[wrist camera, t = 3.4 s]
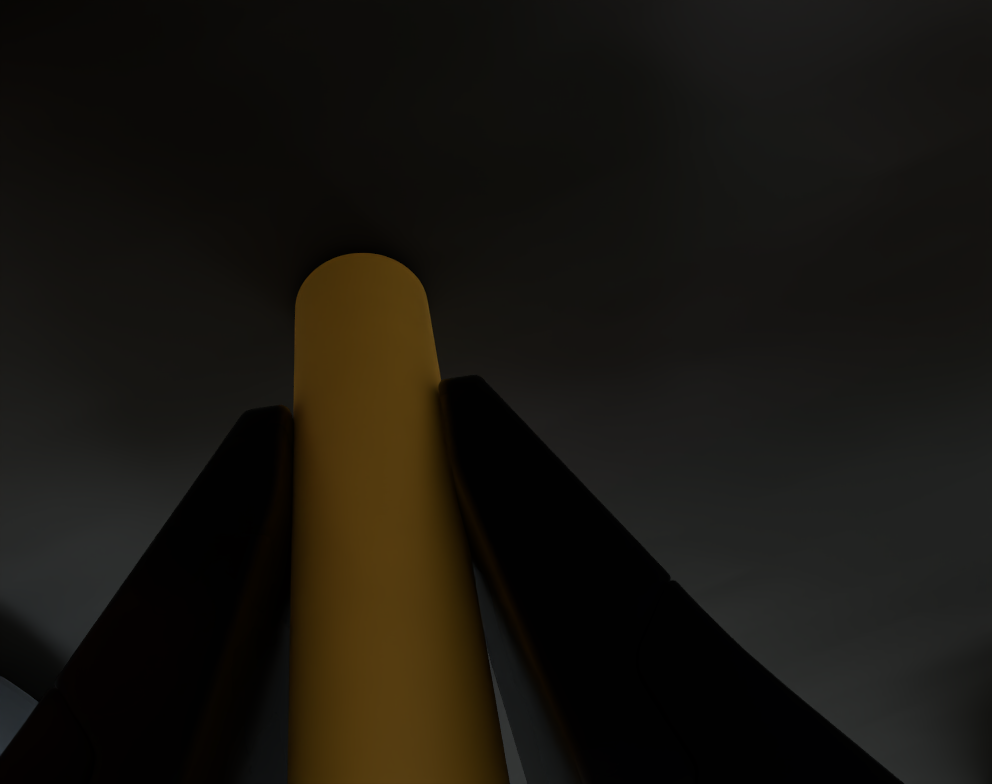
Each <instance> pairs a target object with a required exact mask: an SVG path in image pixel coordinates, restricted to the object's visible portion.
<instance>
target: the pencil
mask: <svg viewBox="0 0 992 784" xmlns="http://www.w3.org/2000/svg"><path fill="white" fill-rule="evenodd" d="M440 381H441V377H440V371H439V365H438V359H437V353H436V347H435V342H434V336H433V330H432V324H431V318H430V312H429V306H428V300H427V296H426V292H425V290H424V288H423V286H422V284H421V282H420V281H419V279H418V278H417V277H416V276H415V274H414V273H413V272H411V271H410V270H409V269H408V268H407V267H405V266H404V265H403V264H401V263H399V262H398V261H396V260H394V259H391V258H389V257H386V256H382V255H379V254H372V253H352V254H346V255H342V256H339V257H336V258H333V259H331V260H329V261H327V262H325V263H323V264H322V265H320V266H319V267H318V268H316V269H315V270H314V271H313V272H312V273H311V274H310V275H309V276H308V277H307V278H306V280H305V281H304V282H303V284H302V286H301V288H300V290H299V292H298V295H297V298H296V304H295V353H294V414H293V421H294V439H293V500H292V538H291V596H290V656H289V717H288V778H287V784H510V782H509V776H508V770H507V764H506V759H505V753H504V747H503V741H502V735H501V729H500V723H499V717H498V712H497V706H496V700H495V694H494V688H493V682H492V676H491V670H490V665H489V659H488V653H487V647H486V641H485V635H484V629H483V623H482V618H481V612H480V606H479V600H478V594H477V588H476V582H475V576H474V571H473V565H472V559H471V553H470V548H469V544H468V540H467V536H466V533H465V529H464V525H463V521H462V518H461V514H460V510H459V507H458V503H457V498H456V493H455V488H454V482H453V476H452V470H451V464H450V458H449V452H448V446H447V440H446V434H445V427H444V421H443V415H442V409H441V403H440V397H439V390H438V385H439V383H440Z"/></svg>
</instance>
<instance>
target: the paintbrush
mask: <svg viewBox="0 0 992 784" xmlns="http://www.w3.org/2000/svg"><path fill="white" fill-rule="evenodd" d="M38 703H39V702H38V701H36V700H35V699H34V698H33V697H31V696H30V695H29V694H27V693H26V692H24V691H23V690H21V689H20V688H19V687H17V686H16V685H14V684H13V683H11V682H10V681H8V680H7V679H5V678H3V677H2V676H0V755H1V754H2V752H3V751H4V750H5V748H6V747H7V746H8V744H9V743H10V742H11V740H12V739H13V738H14V736H15V735H16V734H17V732H18V731H19V729H20V728H21V727H22V725H23V724H24V723H25V721H26V720H27V718H28V717H29V716H30V714H31V713H32V711H33V710H34V708H35V707H36V706H37V704H38Z"/></svg>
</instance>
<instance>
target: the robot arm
mask: <svg viewBox="0 0 992 784" xmlns="http://www.w3.org/2000/svg"><path fill="white" fill-rule="evenodd" d="M438 390H439V397H440V403H441V409H442V415H443V421H444V427H445V434H446V440H447V446H448V452H449V458H450V464H451V470H452V476H453V482H454V488H455V493H456V498H457V503H458V507H459V510H460V514H461V518H462V521H463V525H464V529H465V533H466V536H467V540H468V544H469V548H470V553H471V559H472V565H473V571H474V576H475V582H476V588H477V594H478V600H479V606H480V612H481V618H482V623H483V629H484V635H485V641H486V647H487V650H488V654H489V657H490V660H491V664H492V667H493V670H494V674H495V677H496V680H497V684H498V687H499V690H500V694H501V697H502V700H503V704H504V707H505V710H506V714H507V717H508V720H509V724H510V727H511V730H512V734H513V737H514V740H515V744H516V747H517V750H518V754H519V757H520V760H521V764H522V767H523V770H524V774H525V777H526V780H527V784H904V783H903V782H902V781H900V780H899V779H898V778H897V777H896V776H894V775H893V774H892V773H891V772H889V771H888V770H887V769H886V768H885V767H883V766H882V765H881V764H880V763H879V762H877V761H876V760H875V759H874V758H873V757H871V756H870V755H869V754H868V753H866V752H865V751H864V750H863V749H862V748H860V747H859V746H858V745H857V744H856V743H854V742H853V741H852V740H851V739H850V738H848V737H847V736H846V735H845V734H843V733H842V732H841V731H840V730H839V729H837V728H836V727H835V726H834V725H833V724H831V723H830V722H829V721H828V720H827V719H825V718H824V717H823V716H822V715H820V714H819V713H818V712H817V711H816V710H814V709H813V708H812V707H811V706H810V705H808V704H807V703H806V702H805V701H804V700H802V699H801V698H800V697H799V696H798V695H796V694H795V693H794V692H793V691H791V690H790V689H789V688H788V687H787V686H786V685H784V684H783V683H782V682H781V681H780V680H779V679H778V678H776V677H775V676H774V675H773V674H772V673H771V672H769V671H768V670H767V669H766V668H765V667H764V666H763V665H761V664H760V663H759V662H758V661H757V660H756V659H754V658H753V657H752V656H751V655H750V654H749V653H748V652H746V651H745V650H744V649H743V648H742V647H741V646H740V645H739V644H738V643H737V642H736V641H735V640H734V639H733V638H732V637H731V636H730V635H729V634H728V633H727V632H725V631H724V630H723V629H722V628H721V627H720V626H719V625H718V624H717V623H716V622H715V621H714V620H713V619H712V618H711V617H710V616H709V615H708V614H707V613H706V612H705V611H704V610H703V609H702V608H701V607H700V606H699V605H698V604H697V603H696V602H695V601H694V599H693V598H692V597H691V596H690V595H689V594H688V593H687V592H686V591H685V590H684V589H683V588H682V587H681V586H680V585H679V584H678V583H677V582H676V581H674V580H672V581H670V579H671V578H670V575H669V574H668V573H667V572H666V570H665V569H664V568H663V567H662V566H661V565H660V564H659V563H658V562H657V561H656V560H655V559H654V558H653V557H652V556H651V555H650V554H649V553H648V552H647V550H646V549H645V548H644V547H643V546H642V545H641V544H640V543H639V542H638V541H637V540H636V539H635V538H634V537H633V536H632V535H631V534H630V533H629V532H628V531H627V529H626V528H625V527H624V526H623V525H622V524H621V523H620V522H619V521H618V520H617V519H616V518H615V517H614V516H613V515H612V514H611V513H610V512H609V511H608V510H607V508H606V507H605V506H604V505H603V504H602V503H601V502H600V501H599V500H598V499H597V498H596V497H595V496H594V495H593V494H592V493H591V492H590V491H589V490H588V488H587V487H586V486H585V485H584V484H583V483H582V482H581V481H580V480H579V479H578V478H577V477H576V476H575V475H574V474H573V473H572V472H571V471H570V470H569V469H568V467H567V466H566V465H565V464H564V463H563V462H562V461H561V460H560V459H559V458H558V457H557V456H556V455H555V454H554V453H553V452H552V451H551V450H550V449H549V448H548V446H547V445H546V444H545V443H544V442H543V441H542V440H541V439H540V438H539V437H538V436H537V435H536V434H535V433H534V432H533V431H532V430H531V429H530V428H529V427H528V425H527V424H526V423H525V422H524V421H523V420H522V419H521V418H520V417H519V416H518V415H517V414H516V413H515V412H514V411H513V410H512V409H511V408H510V407H509V405H508V404H507V403H506V402H505V401H504V400H503V399H502V398H501V397H500V396H499V395H498V394H497V393H496V392H495V391H494V390H493V389H492V388H491V387H490V386H489V384H488V383H487V382H486V381H485V380H484V379H483V378H481V377H480V376H478V375H468V376H461V377H455V378H449V379H444V380H442V381H440V383H439V385H438ZM293 439H294V421H293V417H292V414H291V412H290V410H289V409H288V408H287V407H286V406H284V405H276V406H269V407H263V408H256V409H251V410H248V411H246V412H245V413H243V414H242V415H241V417H240V418H239V419H238V421H237V422H236V424H235V425H234V426H233V428H232V429H231V431H230V432H229V434H228V435H227V436H226V438H225V439H224V441H223V442H222V444H221V445H220V446H219V448H218V449H217V451H216V452H215V453H214V455H213V456H212V458H211V459H210V461H209V462H208V463H207V465H206V466H205V468H204V469H203V470H202V472H201V473H200V475H199V476H198V478H197V479H196V480H195V482H194V483H193V485H192V486H191V488H190V489H189V490H188V492H187V493H186V495H185V496H184V497H183V499H182V500H181V502H180V503H179V505H178V506H177V507H176V509H175V510H174V512H173V513H172V515H171V516H170V517H169V519H168V520H167V522H166V523H165V524H164V526H163V527H162V529H161V530H160V532H159V533H158V534H157V536H156V537H155V539H154V540H153V541H152V543H151V544H150V546H149V547H148V549H147V550H146V551H145V553H144V554H143V556H142V557H141V559H140V560H139V561H138V563H137V564H136V566H135V567H134V568H133V570H132V571H131V573H130V574H129V576H128V577H127V578H126V580H125V581H124V583H123V584H122V586H121V587H120V588H119V590H118V591H117V593H116V594H115V595H114V597H113V598H112V600H111V601H110V603H109V604H108V605H107V607H106V608H105V610H104V611H103V612H102V614H101V615H100V617H99V618H98V620H97V621H96V622H95V624H94V625H93V627H92V628H91V630H90V631H89V632H88V634H87V635H86V637H85V638H84V639H83V641H82V642H81V644H80V645H79V647H78V648H77V649H76V651H75V652H74V654H73V655H72V657H71V658H70V659H69V661H68V662H67V664H66V665H65V666H64V668H63V669H62V671H61V672H60V674H59V675H58V676H57V678H56V679H55V686H56V687H57V688H54V687H52V688H49V689H48V690H47V691H46V693H45V694H44V696H43V697H42V699H41V700H40V701H39V703H38V704H37V706H36V707H35V708H34V710H33V711H32V713H31V714H30V716H29V717H28V718H27V720H26V721H25V723H24V724H23V725H22V727H21V728H20V729H19V731H18V732H17V734H16V735H15V736H14V738H13V739H12V740H11V742H10V743H9V744H8V746H7V747H6V748H5V750H4V751H3V752H2V754H1V755H0V784H287V778H288V717H289V656H290V596H291V538H292V500H293Z"/></svg>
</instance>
